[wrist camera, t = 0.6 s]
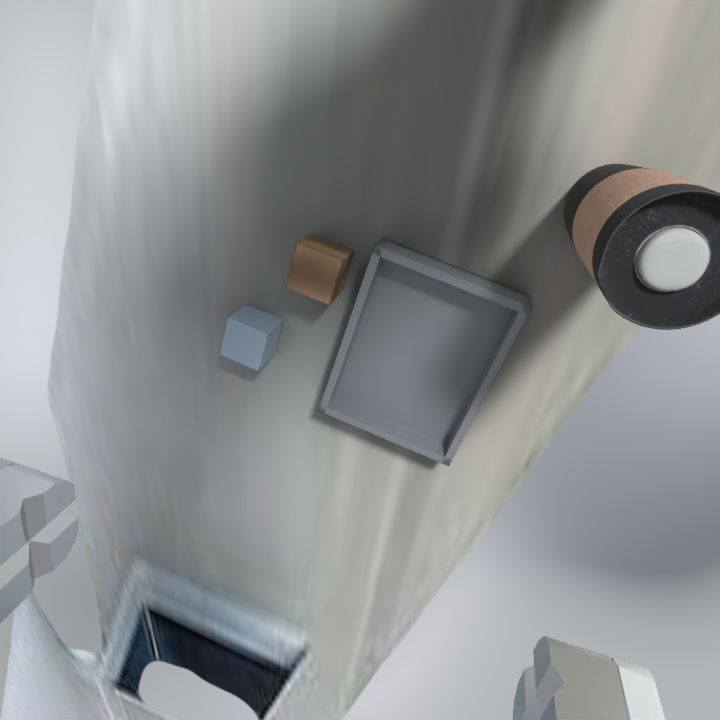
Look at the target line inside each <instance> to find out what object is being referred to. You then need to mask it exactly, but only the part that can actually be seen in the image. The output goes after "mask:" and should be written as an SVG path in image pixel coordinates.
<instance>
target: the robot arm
mask: <svg viewBox="0 0 720 720" xmlns="http://www.w3.org/2000/svg"><path fill="white" fill-rule="evenodd" d="M74 500H75V493H74V486H73V484H72V483H70V482H68V481H66V480H63V479H60V478H57V477H55V476H52V475H49V474H46V473H44V472H41V471H38V470H35V469H33V468H29V467H27V466H24V465H21V464H18V463H15V462H12V461H9V460H6V459H3V458H1V457H0V623H1V622H2V621H3V620H4V619H5V618H6V617H7V616H8V615H9V614H10V613H11V612H12V611H13V610H14V609H15V608H16V607H17V606H18V605H19V604H20V603H21V602H22V601H23V600H24V599H25V598H26V597H27V596H28V595H29V594H30V593H31V592H32V591H33V585H34V580H35V578H37V577H39V576H42V575H44V574H46V573H49V572H52V571H53V570H54V569H55V568H56V567H57V566H58V565H59V564H60V563H61V562H62V561H63V560H64V559H65V558H66V556H67V555H68V553H69V551H70V549H71V548H72V546H73V544H74V543H75V540H76V535H77V531H78V522H77V517H76V516H75V514H74V513H73V511H72V510H71V509H70V507H69V505H70V504H71V503H72V502H73V501H74ZM533 652H534V665H533V666H531V667H528V668H526V669H524V671H523V673H522V676H521V678H520V680H519V682H518V686H517V691H516V696H515V699H514V710H513V720H665V716H664V713H663V709H662V706H661V702H660V699H659V695H658V692H657V688H656V685H655V681H654V678H653V676H652V675H651V673H650V672H649V670H648V669H645V668H642V667H639V666H636V665H633V664H630V663H627V662H624V661H621V660H618V659H615V658H610V657H608V656H606V655H603V654H600V653H597V652H594V651H591V650H587V649H584V648H581V647H578V646H574V645H571V644H568V643H565V642H562V641H559V640H556V639H552V638H549V637H546V636H544V637H542V638H541V639H540V640H539V641H538V643H537V645H536V647H535V649H534V651H533Z"/></svg>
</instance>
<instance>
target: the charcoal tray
mask: <svg viewBox="0 0 720 720" xmlns="http://www.w3.org/2000/svg"><path fill="white" fill-rule="evenodd" d="M531 308H532V306H531V300H530V296H529V295H527V294H524V293H522V292H519V291H517V290H514V289H511V288H509V287H506V286H504V285H501V284H499V283H496V282H494V281H491V280H489V279H486V278H484V277H481V276H478V275H476V274H473V273H471V272H468V271H466V270H463V269H461V268H458V267H456V266H453V265H450V264H448V263H445V262H443V261H440V260H438V259H435V258H433V257H430V256H428V255H425V254H422V253H420V252H417V251H415V250H412V249H410V248H407V247H405V246H402V245H400V244H397V243H395V242H392V241H389V240H387V239H384V238H382V239H381V240H380V241H379V242H378V243H377V244H376V245H375V246H374V249H373V252H372V255H371V258H370V261H369V264H368V267H367V270H366V273H365V276H364V279H363V282H362V284H361V287H360V290H359V293H358V296H357V299H356V302H355V305H354V308H353V311H352V314H351V317H350V319H349V322H348V325H347V328H346V331H345V334H344V337H343V340H342V343H341V346H340V349H339V352H338V355H337V357H336V360H335V363H334V366H333V369H332V372H331V375H330V378H329V381H328V384H327V387H326V390H325V392H324V395H323V398H322V401H321V404H320V407H319V410H318V411H320V412H322V413H325V414H327V415H329V416H332V417H334V418H336V419H339V420H341V421H344V422H346V423H348V424H351V425H353V426H355V427H358V428H360V429H362V430H365V431H367V432H369V433H372V434H374V435H377V436H379V437H381V438H384V439H386V440H388V441H391V442H393V443H395V444H398V445H400V446H402V447H405V448H407V449H409V450H412V451H414V452H417V453H419V454H421V455H424V456H426V457H428V458H431V459H433V460H435V461H438V462H440V463H442V464H445V465H447V466H449V465H450V463H451V461H452V459H453V457H454V455H455V454H456V452H457V450H458V448H459V446H460V444H461V442H462V440H463V438H464V436H465V434H466V432H467V430H468V429H469V427H470V425H471V423H472V421H473V419H474V417H475V415H476V413H477V411H478V409H479V407H480V406H481V404H482V402H483V400H484V398H485V396H486V394H487V392H488V390H489V388H490V386H491V384H492V382H493V381H494V379H495V377H496V375H497V373H498V371H499V369H500V367H501V365H502V363H503V361H504V359H505V358H506V356H507V354H508V352H509V350H510V348H511V346H512V344H513V342H514V340H515V338H516V336H517V334H518V333H519V331H520V329H521V327H522V325H523V323H524V321H525V319H526V317H527V315H528V313H529V311H530V310H531Z"/></svg>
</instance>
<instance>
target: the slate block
mask: <svg viewBox="0 0 720 720" xmlns="http://www.w3.org/2000/svg"><path fill="white" fill-rule="evenodd" d="M283 321H284V320H283V319H281V318H279V317H276V316H274V315H271V314H269V313H266V312H264V311H262V310H259V309H257V308H254V307H252V306H249V305H247V304H246V305H245V306H243V307H242V308H240V309H239V310H238V311H236V312H235V313H233V314H232V315H231V316H229V317H228V318H227V323H226V327H225V332H224V336H223V341H222V346H221V350H220V355H221V356H224V357H226V358H228V359H231V360H233V361H236V362H238V363H240V364H243V365H245V366H247V367H250V368H252V369H255V370H257V371H259V370H260V369H261V368H262V367H263V366H264V365H265V364H266V362H267V361H268V360H269V359H270V358H271V357H272V356H273V355H274V354H275V350H276V347H277V343H278V339H279V336H280V332H281V328H282V325H283Z"/></svg>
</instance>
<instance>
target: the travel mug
mask: <svg viewBox="0 0 720 720" xmlns="http://www.w3.org/2000/svg"><path fill="white" fill-rule="evenodd" d="M564 218H565V223H566V226H567V229H568V232H569V235H570V237H571V239H572V242H573V244H574V247H575V249H576V251H577V253H578V255H579V257H580V258H581V260H582V262H583V263H584V265H585V266H586V268H587V269H588V271H589V273H590V274H591V276H592V277H593V279H594V281H595V282H596V284H597V285H598V287H599V288H600V290H601V292H602V293H603V295H604V296H605V298H606V300H607V301H608V303H609V304H610V306H611V308H612V309H613V310H614V311H615V312H616V313H618V314H619V315H620V316H622V317H624V318H625V319H627V320H629V321H631V322H633V323H635V324H638V325H641V326H644V327H648V328H653V329H665V330H667V329H668V330H671V329H681V328H686V327H691V326H693V325H697V324H700V323H703V322H705V321H707V320H709V319H711V318H713V317H715V316H717V315H719V314H720V193H718V192H716V191H713V190H710V189H707V188H704V187H702V186H699V185H696V184H693V183H690V182H688V181H685V180H682V179H679V178H677V177H674V176H671V175H668V174H665V173H663V172H660V171H657V170H652V169H647V168H642V167H636V166H631V165H625V164H610V165H604V166H601V167H598V168H596V169H593V170H591V171H590V172H588V173H587V174H585V175H584V176H582V177H581V178H580V179H579V180H578V181H577V182H576V184H575V185H574V186H573V188H572V189H571V191H570V193H569V195H568V197H567V200H566V203H565V209H564Z"/></svg>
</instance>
